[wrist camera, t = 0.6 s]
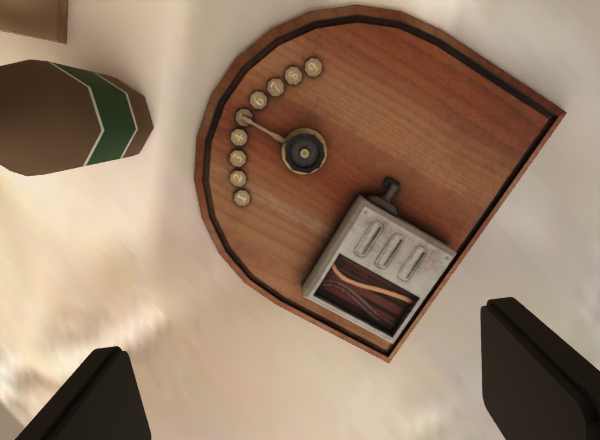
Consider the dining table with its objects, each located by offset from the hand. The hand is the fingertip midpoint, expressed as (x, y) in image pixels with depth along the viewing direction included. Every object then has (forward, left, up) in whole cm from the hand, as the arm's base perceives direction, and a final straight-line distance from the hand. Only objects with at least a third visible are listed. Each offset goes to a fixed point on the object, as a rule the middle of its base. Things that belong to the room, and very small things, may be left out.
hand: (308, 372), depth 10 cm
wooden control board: (-2, +4, -31) cm, 32 cm away
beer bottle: (-3, -19, -31) cm, 36 cm away
